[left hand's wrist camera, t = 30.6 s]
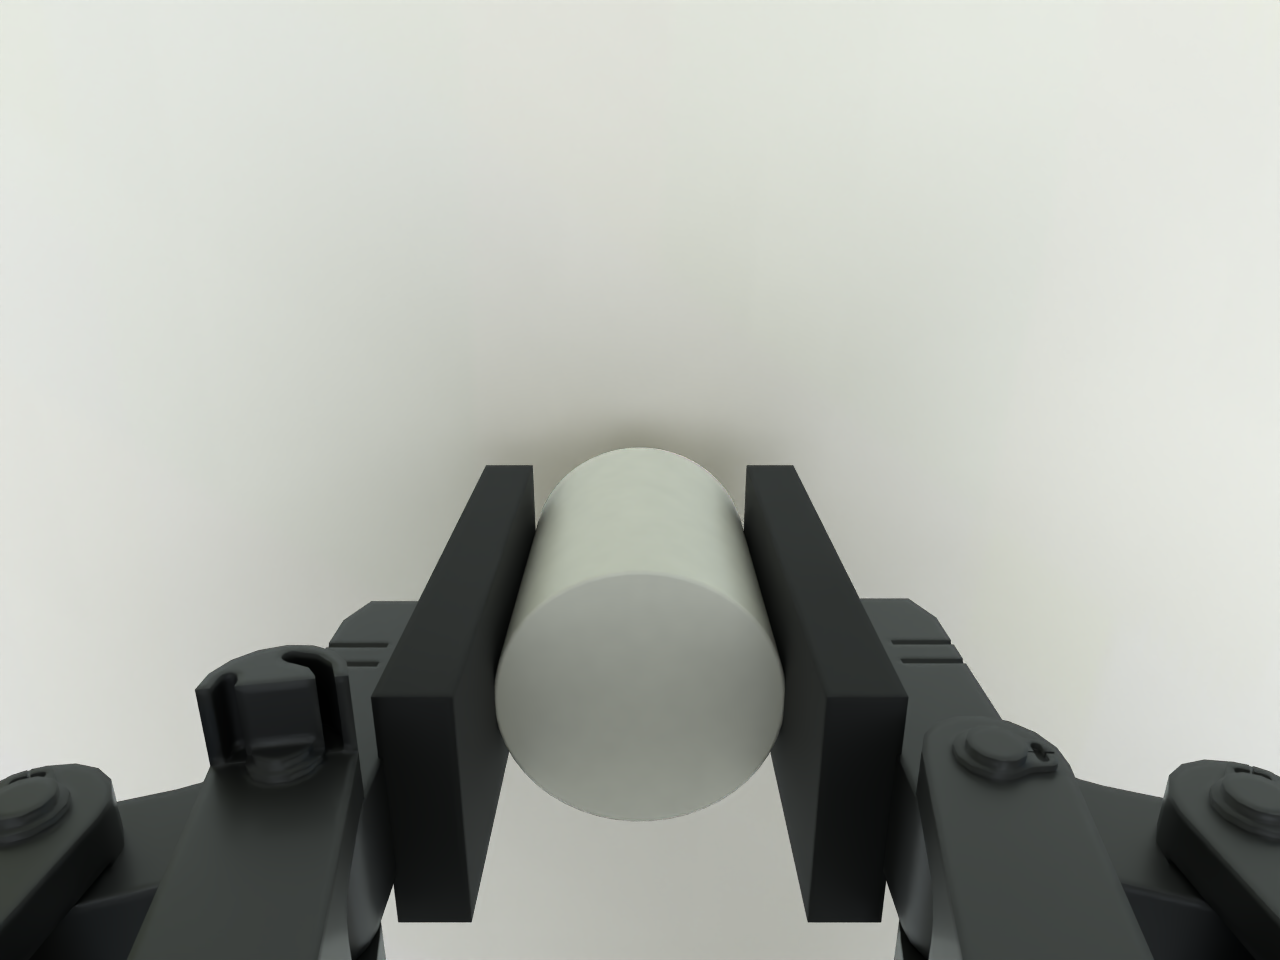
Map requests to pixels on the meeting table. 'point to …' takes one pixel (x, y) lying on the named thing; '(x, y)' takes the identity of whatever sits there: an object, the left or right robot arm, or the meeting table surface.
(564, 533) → the canister
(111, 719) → the meeting table surface
